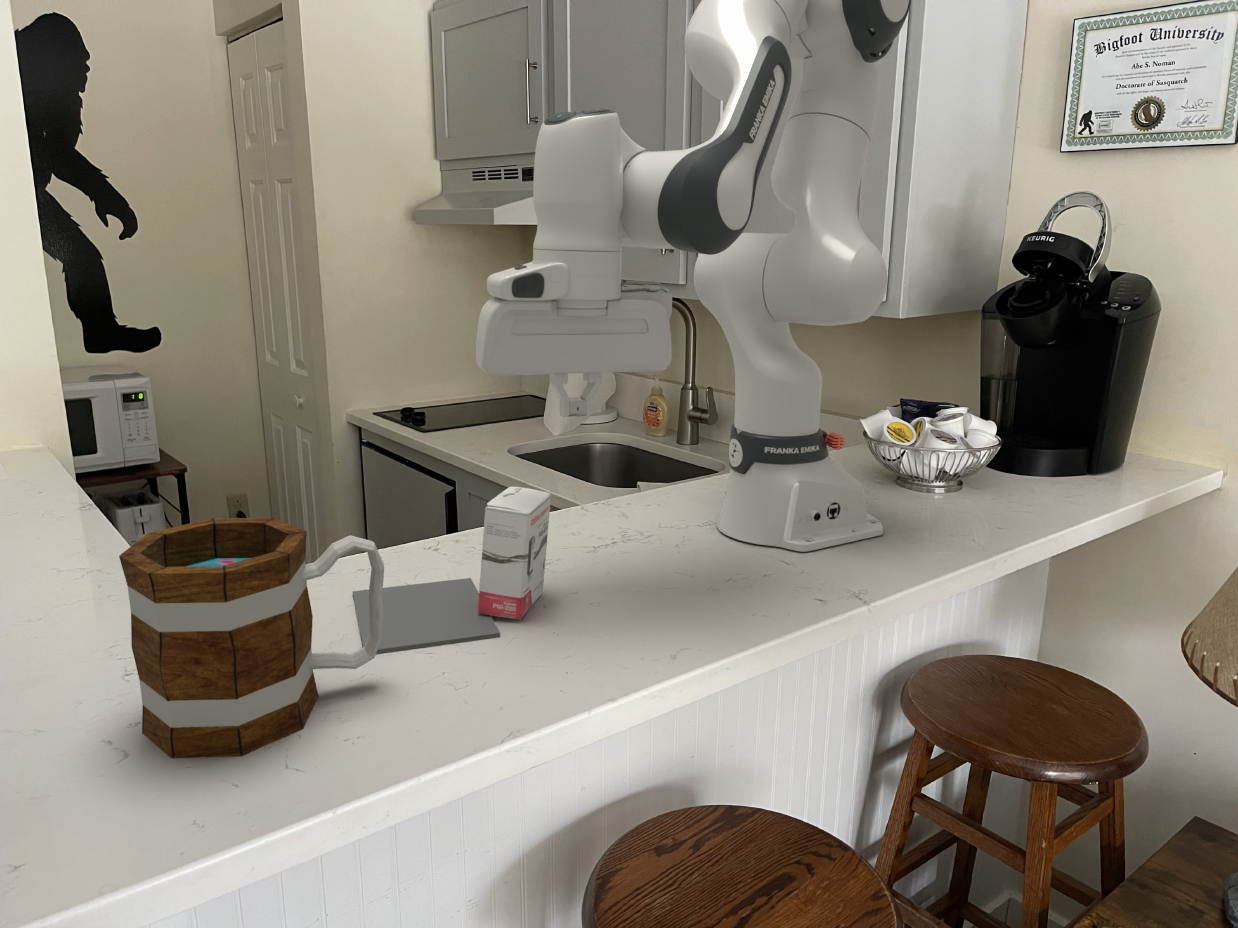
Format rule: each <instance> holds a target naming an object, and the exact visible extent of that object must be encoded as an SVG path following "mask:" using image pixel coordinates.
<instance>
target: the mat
mask: <svg viewBox="0 0 1238 928" xmlns="http://www.w3.org/2000/svg"><path fill="white" fill-rule="evenodd" d="M352 597H353V603H354V607H355V613H356V617H357V618H356V619H357V624H358V629H359V634H360V639H361V644H362V648H363V647H364V646H365V643H366V641H367V638H368V635H369V632H370V617H369V589H362V590H354V591H352ZM478 602H479V591H478V589H477V587H476V585H475V583H474V581H473V579H472V577H466V578H458V579H450V580H441V581H440V580H439V581H431V582H424V583H415V584H406V585H397V586H395V585H394V586H387V587H383V592H382V603H383V633H382V641H381V643H380V645H379V648H378V650H377V652H376V655H377V654H382V653H383V654H384V653H391V652H398V651H405V650H412V649H421V648H426V647H428V648H429V647H434V646H440V645H441V646H442V645H448V644H456V643H463V642H471V641H478V640H484V639H493V638H500V637H501V632H500V631H499V630H500V629H498V627H497V624H496V623H495V621H494V619H493V618H492V615H486V614H479V613H478Z"/></svg>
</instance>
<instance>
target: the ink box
mask: <svg viewBox="0 0 1238 928" xmlns="http://www.w3.org/2000/svg"><path fill="white" fill-rule="evenodd" d="M551 501H552V493H551V492H548V491H543V490H539V489H534V488H529V487H528V488H527V487H521V486H509V487H507V488H506V489H504V490H503V491H501V492H500V493H498V494H497V495H496V496H495V497H493V498H492V499H491V500H489V501H488V502H487V503H486V507H485V508H484V521H483V522H484V523H483V533H482V534H483V535H482V548H481V549H482V551H481V561H480V562H481V565H480V576H479V588H478V589H479V591H478V592H479V602H478V613H479V614H486V615H491V617H492V616H493V617H499V618H507V619H512V620H519V621H520V620H521V619H522V618H523V617H524V616H525V614H526V613H527V612H528V611H529V609H530V608H531V607H532V606H533V605H534V604H535V602H536V601H537V600H538V598H539V597H540V596H541V595H542V594H543V592H544V582H545V572H546V557H547V549H548V548H547V546H548V535H549V534H548V533H549V523H550V511H551Z"/></svg>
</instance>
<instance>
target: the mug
mask: <svg viewBox="0 0 1238 928" xmlns="http://www.w3.org/2000/svg"><path fill="white" fill-rule="evenodd" d="M307 536H308V535H307V531H306V530H304V529H301V528H299V527H297V526H294V525H292V524H290V523H288V522H285V521H282V520H280V519H277V518H275V517H243V518H242V517H241V518H240V517H236V518H235V517H233V518H232V517H229V518H228V517H227V518H225V517H224V518H222V517H217V518H215V517H214V518H207V519H203V520H199V521H194V522H191V523H186V524H181V525H177V526H172V527H168V528H164V529H159V530H156V531H152V532H147V534H145V535H144V536H143V537H141V538H140V539H139V540H138V541H136V542H135V543H133V544H132V545H130V546H129V547H128V548H127V549H126V550H125V551H123V552H122V553H121V554H119V555H118V557H119V561H120V565H121V567H122V572H123V575H124V579H125V582H126V586H127V592H128V600H129V607H130V624H131V625H130V627H131V628H130V629H131V630H130V633H131V634H130V635H131V650H132V654H133V659H134V663H135V667H136V671H137V675H138V681H139V686H140V697H141V702H142V703H141V704H142V714H141V715H142V719H141V722H142V723H141V725H142V726H141V734H142V735H143V736H145V737H146V738H147V739H148V740H149V741H150V742H152V743H153V745H155V746H157V748H159V750H161V751H162V752H163V753H164V754H166V756H168V757H169V758H170V759H194V758H195V759H196V758H200V759H201V758H225V757H226V758H230V757H231V758H233V757H243V756H246V755H248V754H251V753H252V752H255V751H257V750H259V749H261V748H263V747H266V746H268V745H270V744H272V743H275V742H278V741H280V740H282V739H284V738H287V737H289V736H291V735H292V734H295V733H297V732H300V731H303V729H304V728H305V726H306V724H307V722H308V720H309V718H310V716H311V714H312V712H313V710H314V708H315V705H316V703H317V701H318V699H319V697H320V696H319V693H318V692H319V691H318V688H317V682H316V678H315V673H314V670H325V669H327V670H329V669H346V670H357V669H358V668H360V667H362V666H364V665H365V664H367V663H369V662H370V661H372V660H374V659H375V657H376V655H377V654H376V652H377V650H378V648H379V645H380V643H381V641H382V633H383V603H382V592H383V588H384V577H385V576H384V575H385V564H384V561H383V559H382V557H381V554H380V552H379V550H378V548H377V546H376V543H375V542H374V541H372V540H370V539H366V538H361V537H358V536H354V535H351V534H350V535H348V536H345V537H343V538H341V539H339V540H337V541H335V542H332V543H330V545H329V546H328V547H327V548H326V549H325V551H323V553H322V554H321V555H320V556H319V557H318V558H317V559H316V560H315V561H314V562H310V563H306V551H307ZM354 549H355V550H358V551H362V552H366V553H367V557H368V560H369V564H370V567H371V570H370V577H369V578H370V580H369V586H368V587H369V588H368V590H369V617H370V632H369V635H368V638H367V641H366V643H365V646H364V647H363V646H362V647H361V648H359V649H358V650H356V651H354V652H353V653H345V652H344V653H343V652H335V651H332V652H331V651H327V652H325V651H324V652H321V651H320V652H312V638H313V618H314V617H313V612H312V611H313V610H312V607H311V600H310V594H309V590H308V582H307V581H309V580H313V579H317V578H320V577H323V575H325V574H326V573H327V572H328V571H330V570H331V568H332V567H333V566H334V565H335V563H336V562H337V561H338V560H339V559H340V557H341V556H344V555H345V554H348V553H349V552H352V551H353V550H354Z"/></svg>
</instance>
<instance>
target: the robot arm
mask: <svg viewBox="0 0 1238 928" xmlns="http://www.w3.org/2000/svg"><path fill="white" fill-rule="evenodd" d="M911 3H912V0H701V1H700V2H699V3H698V6H697V8H695V10H694V12H693V13H692V15H691V18H690V21H689V23H688V26H687V28H686V31H685V34H684V41H683V42H684V45H683V47H684V53H685V54H684V55H685V60H686V63H687V65H688V68H689V70H690V71H691V72H690V73H691V74H692V76H693V77H694V79H695V80H696V81H697V82H698V84H699V85H700V86H701V87H702V88H703V89H704V91H706V92H707V93H709V94H710V95H711V96H713V97H714V98H716V99H717V100H720V101H722V102H725V103H726V105H725V107H724V110H723V112H722V115H721V118H720V119H719V122H718V124H717V127H716V129H715V132H714V134H713V136H712V137H710V139H708V140H706V141H705V142H702V143H701V144H699V145H698V144H697V145H696V146H692V147H689V148H686V149H678V150H677V149H676V150H658V151H648V150H647V151H646V149H647V148H645V147H642V146H641V145H639V144H638V143H636V142H635V141H634V140H633V139H631V138H630V136H629V135H628V134H627V133H626V131H624V129H623V128H622V126H621V123H620V122H621V121H620V117H619V114H618V113H617V112H616V111H614V110H611V109H609V108H595V109H594V108H593V109H585V110H573V111H565V112H562V111H561V112H557V113H554V114H552V115H550V116H548V117H547V118H546V119H544V120H543V122H542V123H541V125H540V129H539V131H538V134H537V135H538V136H537V139H536V145H535V151H534V152H535V153H534V163H533V164H534V165H533V183H532V185H533V187H532V189H533V193H532V194H533V195H532V196H533V201H532V202H533V208H534V212H535V215H536V220H537V221H536V225H537V227H536V228H537V229H536V234H535V237H534V240H533V243H532V244H533V245H532V247H533V248H532V260H531V261H530V262H526V263H524V264H519V265H517V266H514V267H511V268H510V267H509V268H508V269H504V270H501V271H498V272H494V273H493V274H492V273H491V274H490V275H489V276H488V277H487V280H486V290H487V293H488V294H489V295H490V296H491V297H492V298H490V299H488V300H487V301H486V302H485V303H484V305H483V306H482V308H481V309H480V313H479V317H478V322H477V329H476V330H477V331H476V339H475V362H476V365H477V367H478V368H479V369H480V370H481V371H482V372H484V374H486V375H487V376H490V377H491V376H519V375H520V376H522V375H524V376H525V375H526V376H528V375H529V376H530V375H549V376H548V378H549V381H548V382H549V383H550V385H551V387H552V389H553V391H554V393H555V394H556V396H557V397H558V399H559V415H560V416H561V417H563V418H569V417H570V418H571V417H573V418H575V417H590V416H591V414H592V400H593V399H594V398H595V396H596V394H597V393H598V391H599V389H600V387H601V386H602V384H603V373H606V374H607V373H632V372H633V373H634V372H635V373H639V372H642V373H643V372H663V371H665V370H666V369H667V368H668V367H669V366H670V364H671V363H672V359H673V358H672V357H673V347H672V333H671V323H670V319H671V317H672V313H673V296H672V293H671V292H670V290H669V289H668V288H667V287H666V286H664V285H661V283H660V282H659V281H655V280H647V281H638V280H622V261H623V259H622V257H623V254H622V253H623V248H622V247H630V248H645V249H660V250H661V249H663V250H678V251H682V252H689V253H694V254H698V256H697V258H696V261H695V264H694V267H693V269H694V270H693V286H694V289H695V292H696V295H697V297H698V299H699V301H700V303H701V304H702V306H703V307H704V308H706V309H707V310H708V311H709V312H710V313H711V314H712V315H713V317H714V318H715V319H716V321H717V322H718V324H719V326H720V327H721V329H722V331H723V333H724V336H725V338H726V340H727V343H728V346H729V349H730V352H731V357H732V360H733V367H734V384H735V385H734V386H735V387H734V388H735V390H734V421H733V422H734V423H733V424H731V427H730V435H729V447H728V461H729V462H728V464H729V465H728V466H729V475H728V482H727V487H726V492H725V497H724V500H723V504H722V507H721V511H720V514H719V516H718V519H717V521H716V528H717V529H718V530H719V531H720V532H721V533H722V534H724V535H726V536H728V537H730V538H733V539H735V540H737V541H742V542H746V543H749V544H755V545H760V546H761V545H762V546H769V547H778V548H782V549H787V550H791V551H795V552H800V553H801V552H802V553H803V552H811V551H816V550H820V549H825V548H830V547H834V546H838V545H839V546H840V545H843V544H847V543H853V542H857V541H860V540H865V539H869V538H875V537H879V536H882V535H884V526H883V524H882V523H881V521H880V520H879V519H877V517H875V516H873V515H872V514H870V513H868V503H867V494H866V491H865V489H864V486H863V484H862V483H861V482H860V481H858V479H857V478H855V477H854V476H853V475H852V474H850V473H849V472H848V471H847V470H846V469H845V468H844V467H842V466H841V465H840V464H838V462H836V461H835V459H833V458H831V457H830V456H829V455H830V453H829V450H828V447H829V448H831V449H833V450H835V451H840V450H842V449H843V448H844V446H845V445H846V444H845V443H846V441H845V440H846V438H844V436H843V435H841V434H837V433H836V432H833V431H832V432H829V433H828V432H826V431H824V430H823V429H821V427H820V415H821V404H822V393H823V392H822V390H823V375H822V372H821V369H820V367H819V366H818V364H817V363H816V362H815V360H814V359H812V358H811V357H810V356H809V355H808V354H806V353H805V352H804V351H802V350H801V349H800V348H799V347H798V345H797V344H796V342H795V341H794V338H793V336H792V334H791V333H792V332H791V330H790V323H791V324H800V325H801V324H802V325H812V326H813V325H814V326H823V327H832V326H843V325H849V324H856V323H857V324H858V323H862V322H865V321H866V320H868V319H869V318H870V317H872V316H873V314H874V313H875V312H876V311H877V310H878V308H880V306H881V303H882V302H883V300H884V297H885V294H886V290H887V286H888V270H887V265H886V262H885V260H884V259H885V258H884V257H883V255H882V253H881V252H880V250H879V249H878V247H877V246H876V245H875V244H874V243H873V242H872V241H871V240H870V239H869V238H868V236H867V235H866V233H865V232H864V230H863V229H862V227H861V226H862V225H861V223H860V219H859V216H858V215H859V214H858V195H859V192H860V191H859V190H860V185H861V180H862V175H863V172H864V168H865V163H866V160H867V155H868V152H869V149H870V145H871V143H872V138H873V134H874V131H875V125H876V120H877V114H878V107H879V102H880V101H879V100H880V93H881V92H880V91H881V90H880V89H881V76H880V71H879V70H880V69H879V68H878V66H877V64H876V62H878V61H880V60H881V59H883V58H884V57H885V56H887V54H888V53H889V51H890V50H891V48H892V46H893V44H894V40H895V39H896V38H897V36H898V35H899V34H900V32H901V30H902V28H903V25H904V23H905V21H906V20H907V17H908V14H909V11H910V9H911ZM792 62H793V63H794V62H795V63H796V62H802V81H801V83H800V85H799V87H798V90H797V91H796V94H795V96H794V99H793V102H792V104H791V107H790V109H789V112H788V113H789V114H788V116H787V119H786V122H785V125H784V128H783V132H782V136H781V138H780V142H779V146H778V149H777V152H776V155H775V159H774V163H773V166H772V170H771V173H770V184H771V189H772V192H773V194H774V196H775V198H776V199H777V200H778V202H779V203H780V204H781V205H782V206H783V207H785V208H786V209H787V210H788V211H790V212H792V213H793V214H795V220H794V225H793V228H792V229H791V231H790V232H787V233H770V232H769V233H767V232H766V233H765V232H744V231H745V229H746V227H747V226H748V224H749V221H750V218H751V215H752V212H753V207H754V202H755V195H756V191H757V190H756V189H757V183H758V180H759V176H760V174H761V172H762V169H763V166H764V164H765V161H766V158H767V156H768V152H769V149H770V147H771V144H772V142H773V138H774V136H775V134H776V131H777V129H778V126H779V123H780V120H781V117H782V116H783V112H784V109H785V106H786V102H787V100H788V97H789V93H790V89H791V84H792V73H793V71H792V69H793V68H792ZM660 290H662V291H660ZM569 374H583V376H582V377H583V379H582V380H583V381H584V382H586V385H585V387H584V388H583V391H582V392H581V394H580V396H574V397H570V396H569V395H568V392H567V391H566V389H565V387H564V385H568V383H569Z"/></svg>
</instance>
